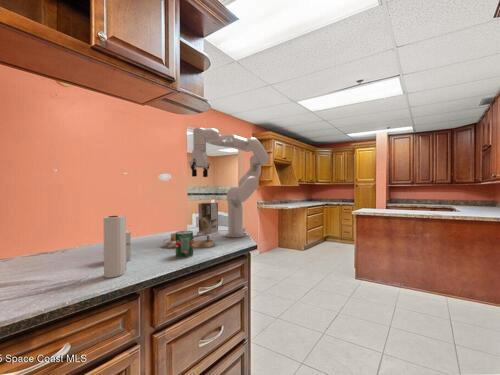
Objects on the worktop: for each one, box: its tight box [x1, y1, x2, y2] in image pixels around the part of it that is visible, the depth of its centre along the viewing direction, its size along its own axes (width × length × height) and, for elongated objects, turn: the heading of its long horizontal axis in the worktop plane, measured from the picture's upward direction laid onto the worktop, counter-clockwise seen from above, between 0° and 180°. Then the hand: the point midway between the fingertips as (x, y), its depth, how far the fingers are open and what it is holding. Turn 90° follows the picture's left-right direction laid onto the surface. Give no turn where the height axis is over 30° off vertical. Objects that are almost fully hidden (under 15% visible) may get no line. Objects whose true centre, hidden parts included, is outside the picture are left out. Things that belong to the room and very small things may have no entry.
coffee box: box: [197, 202, 219, 233], centre depth 135 cm, size 9×6×16 cm
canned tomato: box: [175, 230, 194, 259], centre depth 113 cm, size 8×8×11 cm
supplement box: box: [126, 230, 132, 262], centre depth 106 cm, size 7×7×13 cm
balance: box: [162, 230, 220, 249], centre depth 134 cm, size 30×12×7 cm, turn 94°
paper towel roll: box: [103, 215, 127, 279], centre depth 89 cm, size 7×6×21 cm
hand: (200, 176), depth 149 cm, fingers open, 9 cm apart
